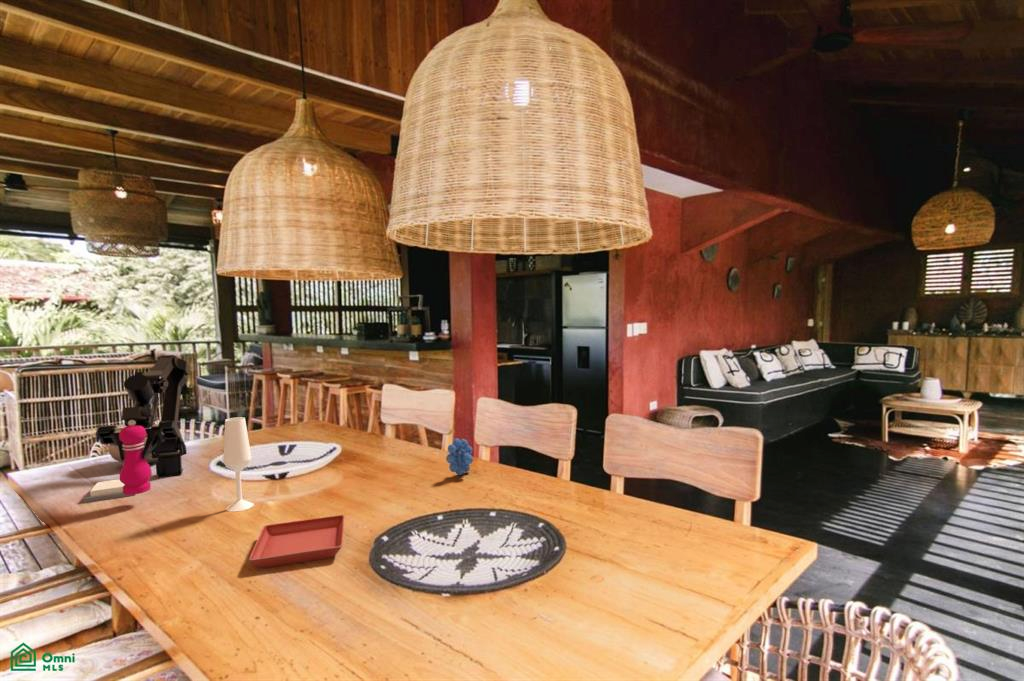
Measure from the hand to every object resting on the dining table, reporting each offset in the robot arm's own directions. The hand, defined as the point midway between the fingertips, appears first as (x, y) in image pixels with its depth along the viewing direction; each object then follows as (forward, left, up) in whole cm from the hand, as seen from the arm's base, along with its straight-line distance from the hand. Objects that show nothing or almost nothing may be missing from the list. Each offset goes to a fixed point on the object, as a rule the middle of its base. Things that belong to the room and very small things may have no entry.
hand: (132, 459), depth 143 cm
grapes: (-87, +22, -14) cm, 91 cm away
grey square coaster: (+8, -17, -13) cm, 23 cm away
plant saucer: (-37, +50, -14) cm, 64 cm away
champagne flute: (-25, +15, -14) cm, 32 cm away
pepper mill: (0, -2, -10) cm, 10 cm away
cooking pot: (+5, -50, -14) cm, 52 cm away
